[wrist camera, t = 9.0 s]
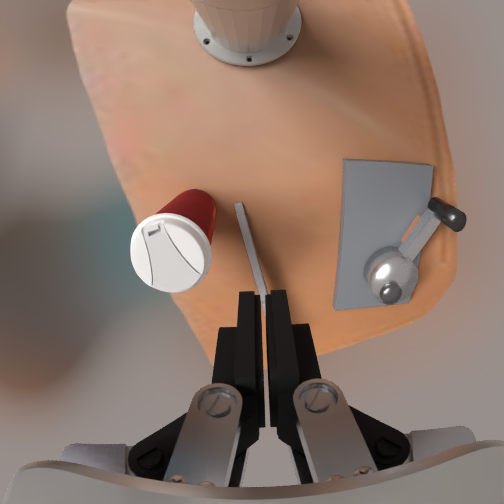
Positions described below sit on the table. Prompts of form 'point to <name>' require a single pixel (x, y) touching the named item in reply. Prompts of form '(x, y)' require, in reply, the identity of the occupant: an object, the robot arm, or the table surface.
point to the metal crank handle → (407, 254)
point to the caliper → (251, 252)
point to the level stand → (376, 220)
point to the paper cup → (176, 243)
